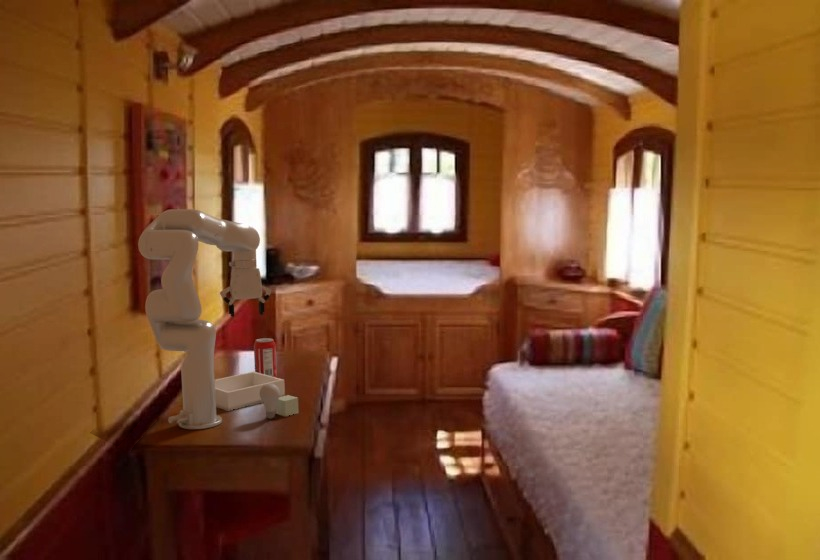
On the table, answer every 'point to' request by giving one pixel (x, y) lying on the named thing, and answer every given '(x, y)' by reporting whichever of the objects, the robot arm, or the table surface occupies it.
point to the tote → (243, 389)
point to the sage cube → (287, 405)
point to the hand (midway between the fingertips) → (246, 315)
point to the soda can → (265, 357)
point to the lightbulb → (269, 398)
